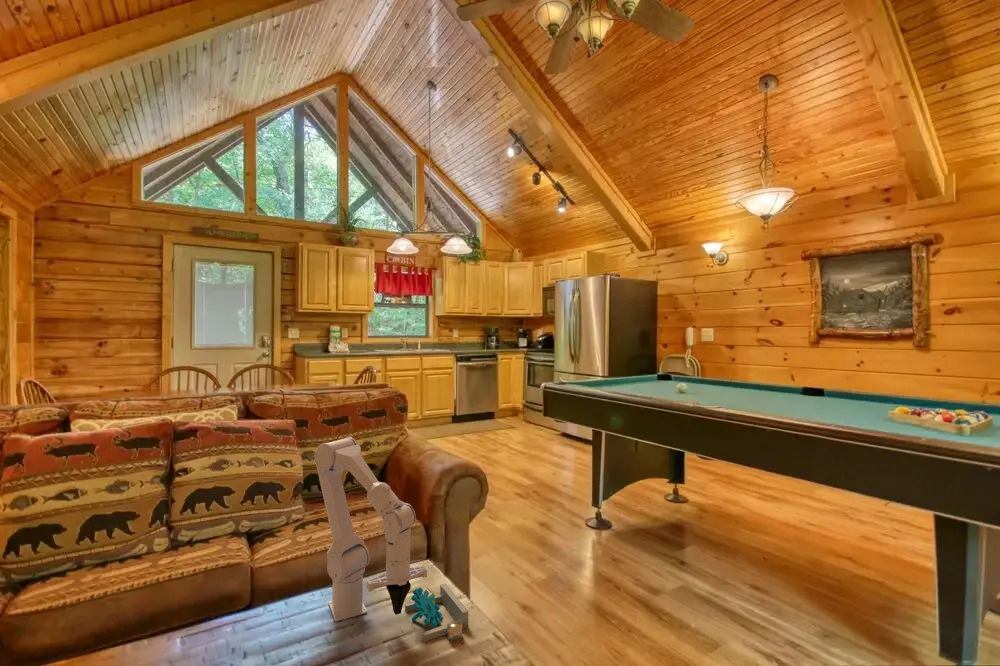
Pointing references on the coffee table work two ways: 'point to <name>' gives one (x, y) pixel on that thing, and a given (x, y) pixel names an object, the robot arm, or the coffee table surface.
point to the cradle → (452, 605)
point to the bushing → (454, 631)
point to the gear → (426, 607)
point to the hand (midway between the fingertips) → (397, 612)
